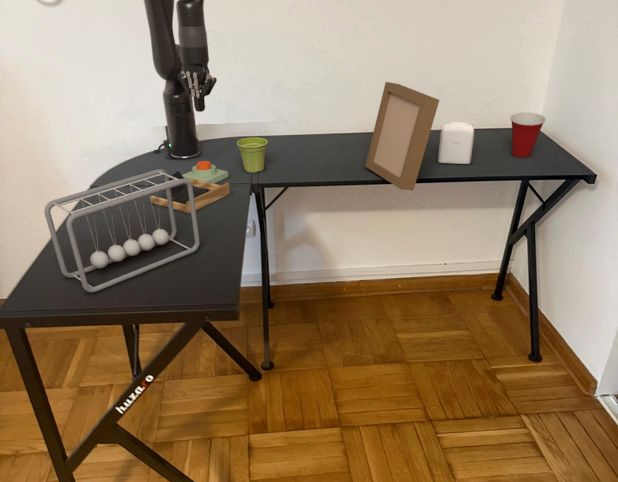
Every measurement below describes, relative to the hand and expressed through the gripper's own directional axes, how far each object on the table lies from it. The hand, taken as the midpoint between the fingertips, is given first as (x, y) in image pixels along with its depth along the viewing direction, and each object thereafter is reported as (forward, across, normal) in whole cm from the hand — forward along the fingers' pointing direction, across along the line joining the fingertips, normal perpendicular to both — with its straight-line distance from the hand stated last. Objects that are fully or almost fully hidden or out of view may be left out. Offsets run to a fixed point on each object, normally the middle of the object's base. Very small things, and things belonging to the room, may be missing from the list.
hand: (200, 110), depth 171 cm
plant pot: (+20, -8, -14) cm, 25 cm away
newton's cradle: (+20, -24, +52) cm, 60 cm away
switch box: (+20, 0, +1) cm, 20 cm away
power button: (+17, 0, +1) cm, 17 cm away
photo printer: (+18, -58, -52) cm, 80 cm away
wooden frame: (+20, -7, +14) cm, 25 cm away
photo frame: (+19, -51, -32) cm, 63 cm away
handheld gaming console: (+20, -5, +15) cm, 25 cm away
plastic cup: (+18, -74, -70) cm, 104 cm away
